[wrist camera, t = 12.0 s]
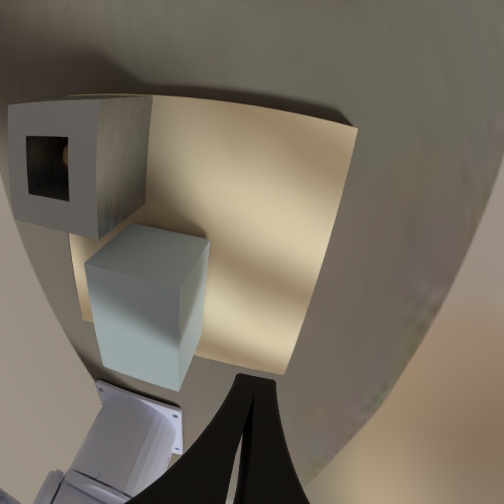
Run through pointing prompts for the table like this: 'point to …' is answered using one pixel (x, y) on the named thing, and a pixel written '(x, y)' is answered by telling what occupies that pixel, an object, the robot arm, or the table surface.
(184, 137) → the plate
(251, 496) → the robot arm
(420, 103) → the table surface
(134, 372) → the block
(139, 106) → the block
